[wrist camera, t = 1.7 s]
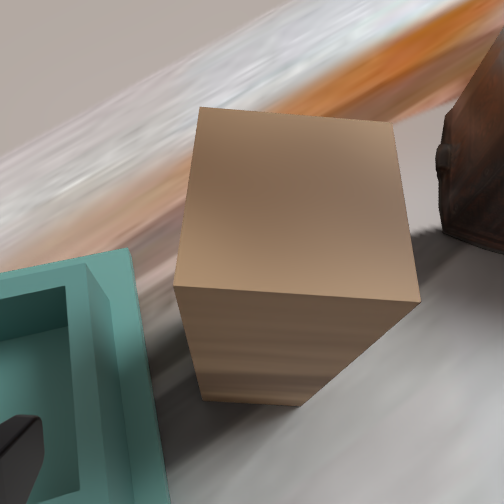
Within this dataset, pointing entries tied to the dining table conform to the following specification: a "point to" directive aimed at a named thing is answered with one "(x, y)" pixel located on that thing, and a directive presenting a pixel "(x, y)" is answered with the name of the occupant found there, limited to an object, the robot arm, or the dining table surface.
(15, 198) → the dining table surface
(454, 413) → the dining table surface
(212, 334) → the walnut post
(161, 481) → the well
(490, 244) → the dark brown wooden block
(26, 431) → the robot arm
